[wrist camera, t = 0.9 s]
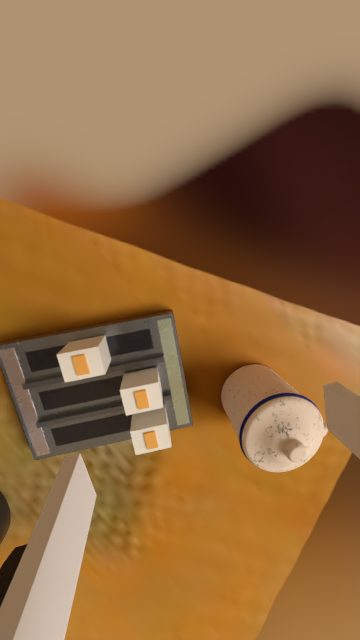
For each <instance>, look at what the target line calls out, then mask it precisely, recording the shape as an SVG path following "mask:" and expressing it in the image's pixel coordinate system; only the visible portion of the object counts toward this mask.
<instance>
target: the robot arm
mask: <svg viewBox="0 0 360 640" xmlns="http://www.w3.org/2000/svg"><path fill="white" fill-rule="evenodd" d="M323 388H324V398H325V409H326V420H327V429H328V430H329V431H330V432H331V433H332V434H334V435H335V436H336V437H337V438H338V439H339V440H340V441H341V442H342V443H343V444H344V445H345V446H346V447H347V448H349V449H350V450H351V451H352V452H353V453H354V454H355V455H356V456H357V457H358V458H359V459H360V396H358V395H357V394H355V393H353V392H352V391H350V390H349V389H347V388H345V387H344V386H342V385H341V384H339V383H338V382H334V383H331V384H327V385H323ZM95 500H96V493H95V490H94V488H93V485H92V482H91V480H90V477H89V475H88V472H87V469H86V467H85V464H84V462H83V459H82V456H81V454H80V453H78V454H74V455H70V456H67V457H65V458H64V460H63V463H62V465H61V467H60V470H59V472H58V474H57V477H56V479H55V481H54V484H53V486H52V488H51V491H50V493H49V495H48V498H47V500H46V502H45V505H44V507H43V509H42V511H41V514H40V516H39V518H38V521H37V523H36V525H35V528H34V530H33V532H32V535H31V537H30V539H29V542H28V544H26V545H23V546H19V547H16V548H15V549H14V550H13V551H12V553H11V554H10V555H9V557H8V558H7V559H6V561H5V562H4V563H3V565H2V567H1V569H0V640H64V639H65V634H66V630H67V625H68V621H69V616H70V612H71V607H72V603H73V598H74V594H75V589H76V585H77V581H78V576H79V572H80V567H81V563H82V558H83V554H84V549H85V545H86V540H87V536H88V531H89V527H90V522H91V518H92V513H93V509H94V504H95ZM9 525H10V510H9V506H8V503H7V501H6V499H5V498H4V496H3V495H2V493H1V492H0V544H1V542H2V541H3V539H4V537H5V535H6V533H7V531H8V528H9Z"/></svg>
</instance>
